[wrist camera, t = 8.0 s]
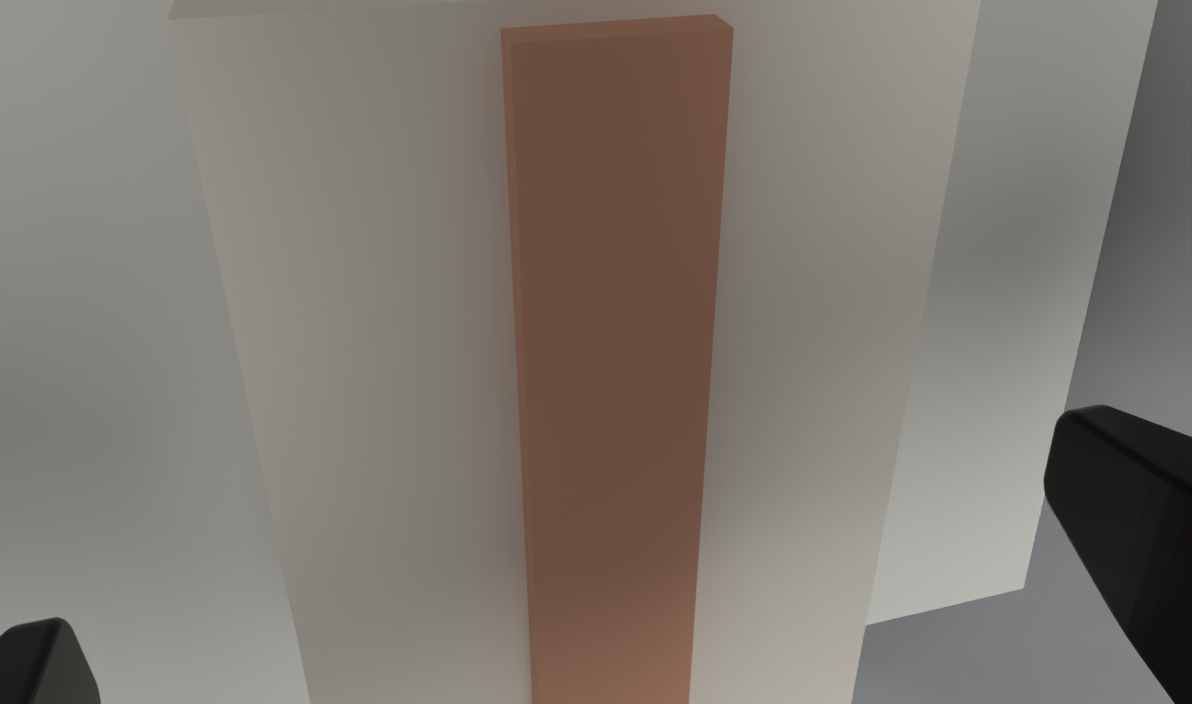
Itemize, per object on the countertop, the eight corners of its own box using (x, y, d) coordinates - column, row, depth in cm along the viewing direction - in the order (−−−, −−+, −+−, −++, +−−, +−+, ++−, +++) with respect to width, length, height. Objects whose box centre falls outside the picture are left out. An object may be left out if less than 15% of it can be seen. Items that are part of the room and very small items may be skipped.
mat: (1226, -424, 11) (1255, -427, 11) (1009, 572, 19) (1023, 588, 18) (-592, -339, 8) (-629, -340, 8) (25, 799, 16) (20, 822, 15)
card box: (740, 543, 16) (859, 766, 13) (328, 615, 15) (342, 882, 11) (800, -106, 11) (1016, -19, 8) (200, -80, 10) (161, 36, 7)
